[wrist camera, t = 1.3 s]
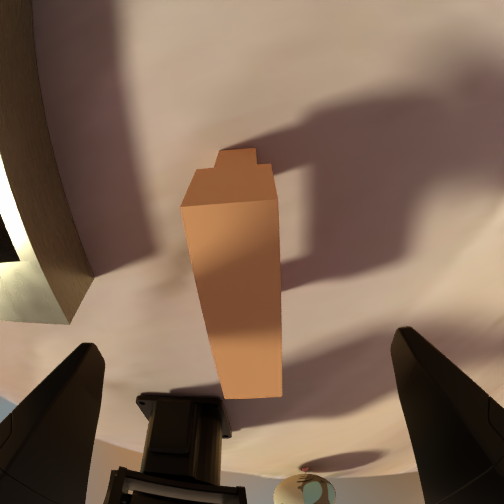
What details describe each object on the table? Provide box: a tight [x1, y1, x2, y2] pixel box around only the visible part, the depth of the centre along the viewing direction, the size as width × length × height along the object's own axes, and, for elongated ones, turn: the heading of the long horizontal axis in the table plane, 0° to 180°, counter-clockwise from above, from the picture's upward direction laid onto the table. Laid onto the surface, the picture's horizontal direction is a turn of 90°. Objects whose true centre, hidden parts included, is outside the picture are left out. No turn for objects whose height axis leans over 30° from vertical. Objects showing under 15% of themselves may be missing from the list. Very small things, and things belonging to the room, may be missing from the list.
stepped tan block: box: [180, 148, 282, 399], centre depth 12 cm, size 8×2×6 cm, turn 4°
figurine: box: [274, 468, 336, 504], centre depth 29 cm, size 8×6×7 cm
